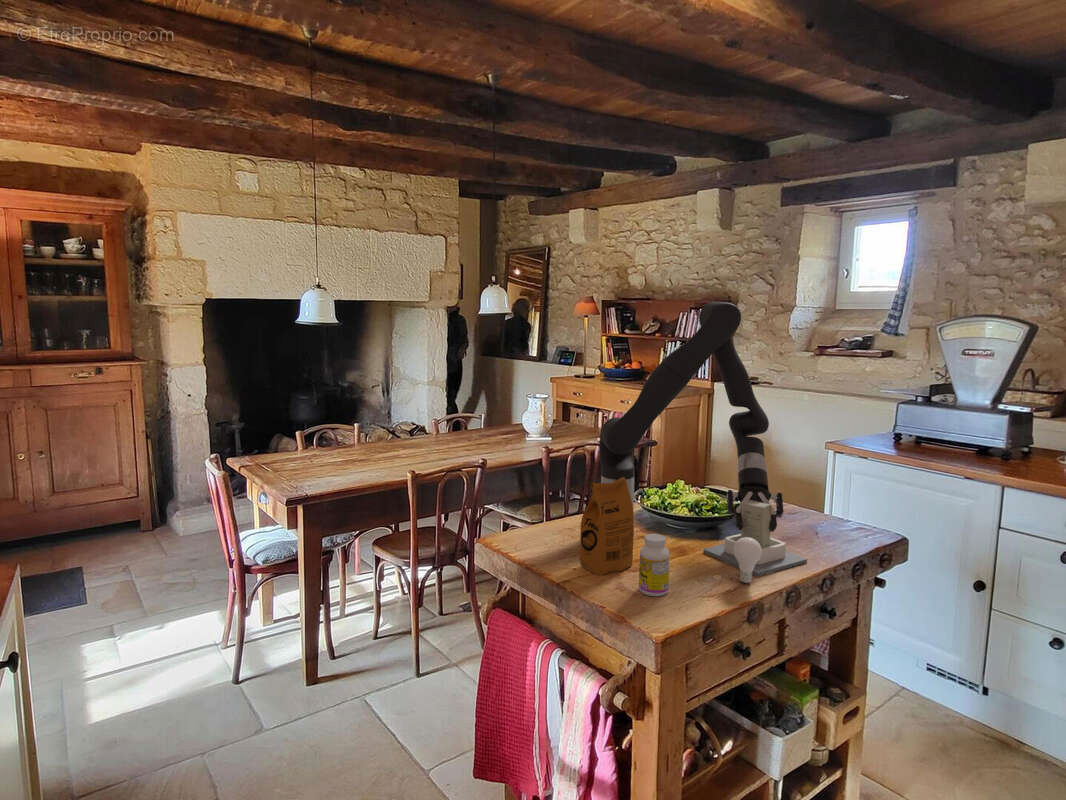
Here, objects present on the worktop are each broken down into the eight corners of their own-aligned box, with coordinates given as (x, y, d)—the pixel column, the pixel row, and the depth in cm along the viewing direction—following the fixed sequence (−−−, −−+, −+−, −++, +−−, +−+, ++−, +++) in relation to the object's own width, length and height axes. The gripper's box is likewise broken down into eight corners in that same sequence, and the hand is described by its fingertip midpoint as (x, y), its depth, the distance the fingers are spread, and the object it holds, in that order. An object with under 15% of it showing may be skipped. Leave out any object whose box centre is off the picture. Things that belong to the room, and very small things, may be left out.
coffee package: (573, 564, 165) (575, 479, 161) (613, 555, 171) (615, 472, 168) (597, 578, 156) (599, 489, 153) (638, 568, 163) (640, 481, 159)
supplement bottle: (635, 585, 152) (637, 532, 151) (663, 584, 153) (665, 531, 151) (642, 598, 146) (644, 542, 144) (672, 597, 146) (674, 542, 145)
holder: (757, 576, 158) (758, 559, 157) (703, 552, 173) (704, 536, 172) (806, 562, 166) (808, 545, 166) (751, 540, 182) (752, 525, 181)
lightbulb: (745, 590, 150) (748, 544, 148) (725, 580, 156) (728, 535, 154) (765, 585, 153) (768, 540, 151) (745, 575, 158) (747, 531, 157)
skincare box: (770, 550, 169) (773, 504, 167) (762, 554, 166) (765, 508, 164) (747, 543, 173) (749, 498, 171) (738, 547, 170) (741, 502, 168)
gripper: (726, 465, 175) (729, 521, 165) (782, 467, 173) (788, 524, 163) (723, 479, 181) (725, 534, 171) (777, 481, 178) (783, 537, 169)
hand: (756, 529), depth 167 cm, fingers closed on skincare box, 7 cm apart
